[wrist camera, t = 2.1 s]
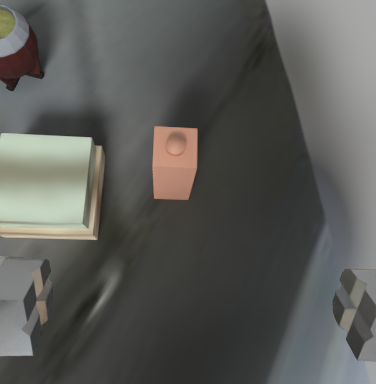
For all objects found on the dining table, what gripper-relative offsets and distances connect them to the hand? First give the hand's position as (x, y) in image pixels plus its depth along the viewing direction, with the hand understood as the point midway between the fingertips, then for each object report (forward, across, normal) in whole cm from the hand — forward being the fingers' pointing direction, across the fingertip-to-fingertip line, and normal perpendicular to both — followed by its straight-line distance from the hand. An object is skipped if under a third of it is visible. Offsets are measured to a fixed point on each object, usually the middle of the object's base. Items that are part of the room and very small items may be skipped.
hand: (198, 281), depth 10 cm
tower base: (+29, +13, +13) cm, 34 cm away
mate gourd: (+40, +20, +2) cm, 45 cm away
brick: (+30, 0, +12) cm, 32 cm away
